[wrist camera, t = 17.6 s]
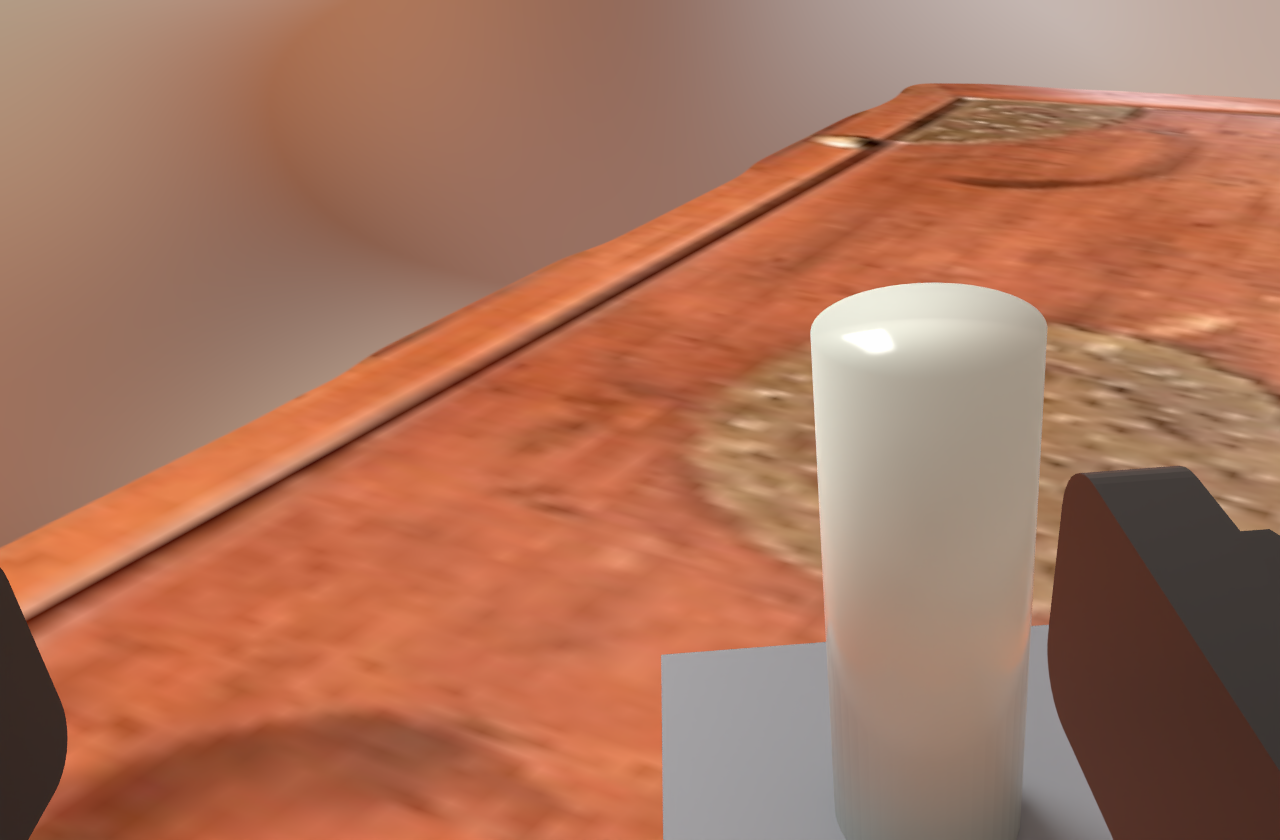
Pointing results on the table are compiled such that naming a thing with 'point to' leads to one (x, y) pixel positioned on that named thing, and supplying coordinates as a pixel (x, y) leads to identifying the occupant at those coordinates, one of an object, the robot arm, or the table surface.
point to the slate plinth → (818, 750)
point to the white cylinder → (928, 553)
